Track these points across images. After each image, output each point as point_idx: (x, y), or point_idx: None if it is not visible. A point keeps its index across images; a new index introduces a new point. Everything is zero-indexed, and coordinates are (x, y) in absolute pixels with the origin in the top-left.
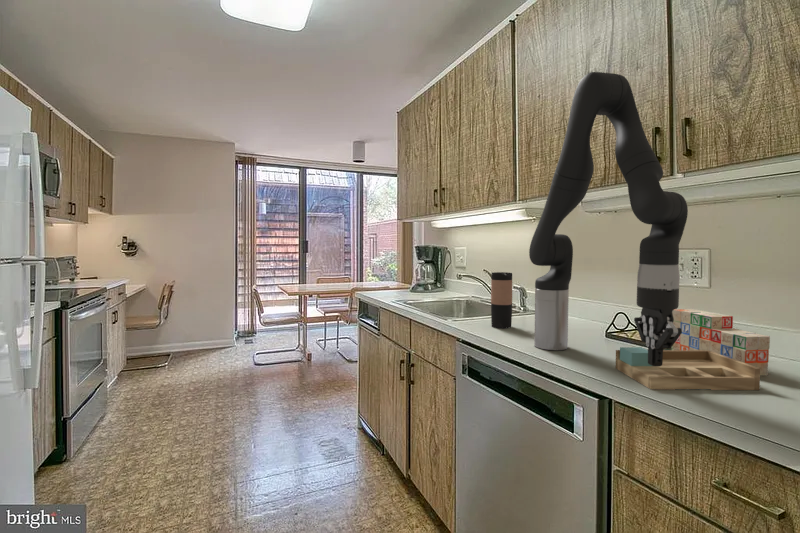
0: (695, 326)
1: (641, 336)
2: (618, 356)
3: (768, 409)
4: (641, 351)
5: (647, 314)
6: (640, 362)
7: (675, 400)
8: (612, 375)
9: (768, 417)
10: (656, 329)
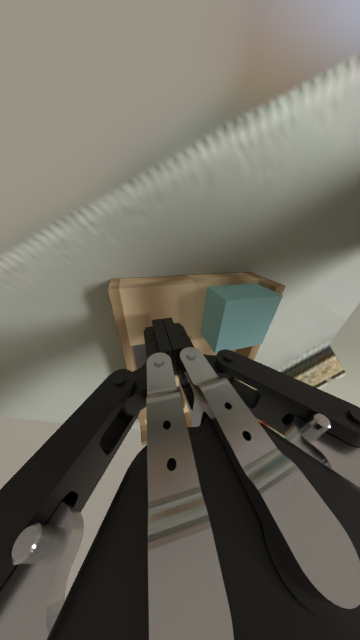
0: (282, 435)
1: (243, 363)
2: (263, 283)
3: (54, 406)
4: (233, 332)
5: (340, 610)
6: (208, 311)
7: (36, 299)
8: (210, 235)
9: (4, 400)
10: (143, 480)
